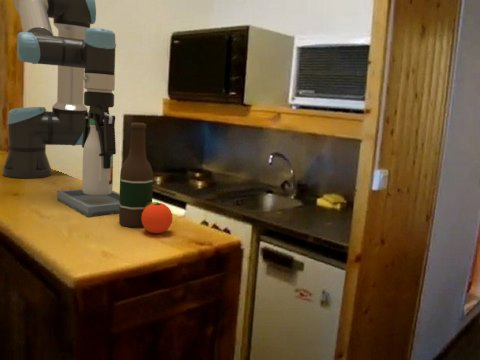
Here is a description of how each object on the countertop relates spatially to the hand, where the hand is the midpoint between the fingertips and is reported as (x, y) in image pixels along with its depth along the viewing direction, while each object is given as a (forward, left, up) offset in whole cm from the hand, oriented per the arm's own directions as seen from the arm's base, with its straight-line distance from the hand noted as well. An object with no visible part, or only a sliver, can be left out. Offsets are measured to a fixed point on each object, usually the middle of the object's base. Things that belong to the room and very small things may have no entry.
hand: (97, 177), depth 120 cm
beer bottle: (+18, +9, -8) cm, 22 cm away
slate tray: (0, 0, -8) cm, 8 cm away
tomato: (+25, +13, -8) cm, 29 cm away
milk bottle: (0, 0, -4) cm, 4 cm away
